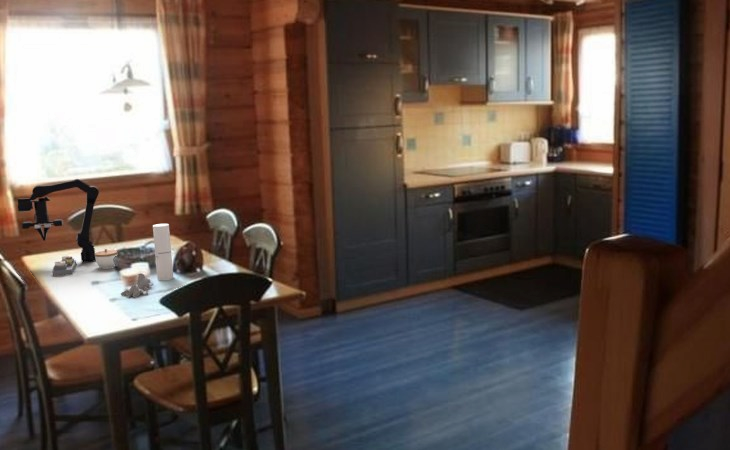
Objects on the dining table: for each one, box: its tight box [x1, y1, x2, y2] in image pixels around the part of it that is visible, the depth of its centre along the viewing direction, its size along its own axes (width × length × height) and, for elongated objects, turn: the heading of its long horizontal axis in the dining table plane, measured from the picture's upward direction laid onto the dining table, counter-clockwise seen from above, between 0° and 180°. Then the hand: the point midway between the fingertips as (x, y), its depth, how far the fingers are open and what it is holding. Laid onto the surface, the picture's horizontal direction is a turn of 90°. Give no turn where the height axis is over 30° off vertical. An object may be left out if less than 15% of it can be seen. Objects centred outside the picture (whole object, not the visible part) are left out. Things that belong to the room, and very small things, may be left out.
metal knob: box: [66, 256, 73, 266], centre depth 347 cm, size 3×3×4 cm
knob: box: [54, 260, 66, 267], centre depth 341 cm, size 5×5×6 cm
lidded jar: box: [95, 248, 119, 270], centre depth 350 cm, size 11×11×9 cm
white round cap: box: [61, 255, 74, 261], centre depth 353 cm, size 5×5×6 cm
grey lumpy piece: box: [120, 273, 154, 299], centre depth 303 cm, size 20×10×9 cm
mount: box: [51, 258, 77, 277], centre depth 348 cm, size 9×21×4 cm, turn 17°
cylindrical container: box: [152, 223, 174, 281], centre depth 323 cm, size 7×7×25 cm
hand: (44, 240), depth 358 cm, fingers closed
